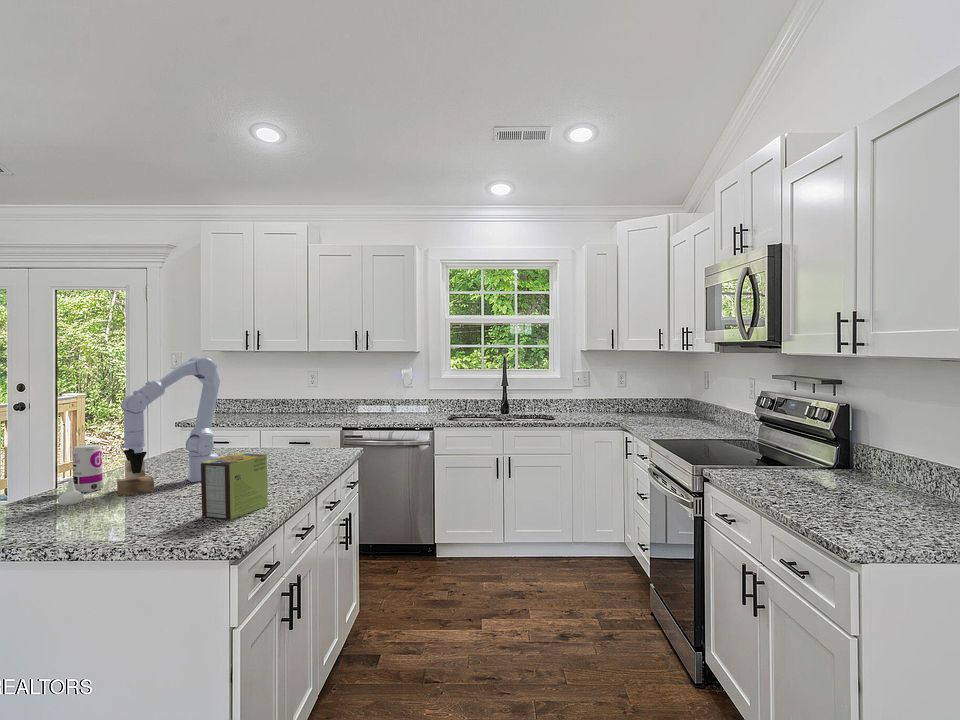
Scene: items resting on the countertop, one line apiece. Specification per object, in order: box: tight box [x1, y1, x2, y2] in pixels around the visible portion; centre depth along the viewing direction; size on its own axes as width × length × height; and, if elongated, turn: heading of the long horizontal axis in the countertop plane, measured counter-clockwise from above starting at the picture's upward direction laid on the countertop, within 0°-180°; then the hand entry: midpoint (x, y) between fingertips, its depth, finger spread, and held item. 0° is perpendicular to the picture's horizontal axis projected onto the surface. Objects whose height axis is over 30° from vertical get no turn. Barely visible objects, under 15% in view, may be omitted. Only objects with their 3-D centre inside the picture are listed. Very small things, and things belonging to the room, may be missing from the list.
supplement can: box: [72, 443, 104, 493], centre depth 193 cm, size 8×8×15 cm
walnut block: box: [116, 475, 155, 497], centre depth 191 cm, size 10×10×4 cm
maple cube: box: [124, 460, 146, 478], centre depth 191 cm, size 5×5×5 cm
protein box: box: [200, 452, 269, 521], centre depth 165 cm, size 10×15×16 cm
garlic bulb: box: [57, 477, 84, 506], centre depth 177 cm, size 6×6×8 cm
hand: (135, 471), depth 191 cm, fingers closed on maple cube, 5 cm apart
